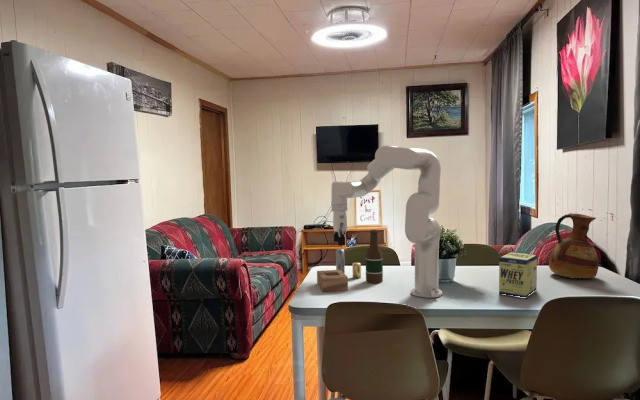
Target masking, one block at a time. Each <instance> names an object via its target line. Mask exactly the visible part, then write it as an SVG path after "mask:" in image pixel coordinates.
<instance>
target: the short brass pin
mask: <svg viewBox="0 0 640 400" xmlns="http://www.w3.org/2000/svg"><path fill="white" fill-rule="evenodd" d="M351 270H352V279H355V280H359V279H361V278H362V263H361V262H352V269H351Z"/></svg>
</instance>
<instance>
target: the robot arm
mask: <svg viewBox="0 0 640 400" xmlns="http://www.w3.org/2000/svg"><path fill="white" fill-rule="evenodd" d="M441 168H442V167H441V163H440V160H439V158H438V157H437V155H436V154H435V153H433V152H432V151H429V150H427V149H423V148H414V147H413V148H412V147H399V146H396V145H387V144H386V145H382V146H380V147H378V148H377V150H376V151H375V154H374V159H373V160H372V161H371V162H370V163H369V164H367V172H368V173H367V174H365V176H363V177H362V179H359V180H354V181H353V180H352V181H333V182H332V183H331V211H332V212H333V214H332V215H333V218H332V221H333V222H332V227H333V242H335V243H337V245H338V246H345V245H346V233H347V232H348V218H347V216H348V215H347V212H348V199H353V198H362V197H364V196H366V195H368V194H369V193H371V192H372V191H373V190H374V189H376V188H377V186H379V183H380V181H381V180H382V179H383V178H384V177H385V176H387V175H388V174H389V173H390V172H392V171H393V170H394V169H401V170H410V171H411V170H413V171H414V170H416V171H417V170H419V171H420V175H419V177H418V181H417V183H418V184H417V185H418V188H417V192H414V193H412V194H411V195H410V196H409V197H408V198H407V201H406V205H405V217H404V218H405V222H404V231H405V237H406V239H407V240H408V242H410V243H412V244H414V287H413V288H412V289H410V294H412V296H415V297H419V298H423V299H424V298H426V299H429V298H430V299H432V298H433V299H434V298H440V297H441V296H442V295H443V291H442V290H441V289H440V288H439V258H440V257H439V249H440V240H441V226H440V223H439V222H438V221H437V220H436V219H434V218H433V217H430V215H432V214H435V213H436V212H437V211H438V209H439V207H440V191H441V187H440V186H441V170H442V169H441Z"/></svg>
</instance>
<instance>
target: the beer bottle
mask: <svg viewBox="0 0 640 400" xmlns="http://www.w3.org/2000/svg"><path fill="white" fill-rule="evenodd" d="M369 234H370V235H369V236H370V237H369V247H368V248H367V250H366V253H365V280H366V281H365V282H367V283H369V284H381V283H383V282H384V281H383V278H384V276H383V275H384V271H383V270H384V268H383V267H384V266H383V265H384V264H383V262H384V261H383V260H384V258H383V257H384V256H383V253H382V250H381V249H380V247H379V237H378V234H379V231H378V230H377V229H370V231H369Z"/></svg>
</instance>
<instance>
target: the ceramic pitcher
mask: <svg viewBox="0 0 640 400" xmlns="http://www.w3.org/2000/svg"><path fill="white" fill-rule="evenodd" d="M565 219H571V220H572V230H571V233H570V235H569V236H568V237H566V238H562V237H561V234H560V226H561V224H562V222H563V221H564V220H565ZM596 219H597V217H595V216H590V215H586V214H581V213H575V212H574V213H573V212H572V213H571V212H570V213H568V214H564V215H562V216H560V217H559V218H558V220H557V222H556V223H555V229H554V230H555V234H556V239H557V244H556V246H554V248H553V250H552V251H551V254H550V257H549V261H548V267H549V269H550V271H551V272H553V274H556V275H558V276H560V277H562V276H564V277H563V278H566V277H573V278H572V279H575V278H579V279H581V278H584V279H592V278H595V277H596V276H598V275H597V274H598V271H599V257H598V253H597V251H596V249H595V247H594V245H593V244H592V243H591V242H590V241H589V239H588V238H589V237H588V233H589V229H590V224H591V223H592V222H593V221H595V220H596Z"/></svg>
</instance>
